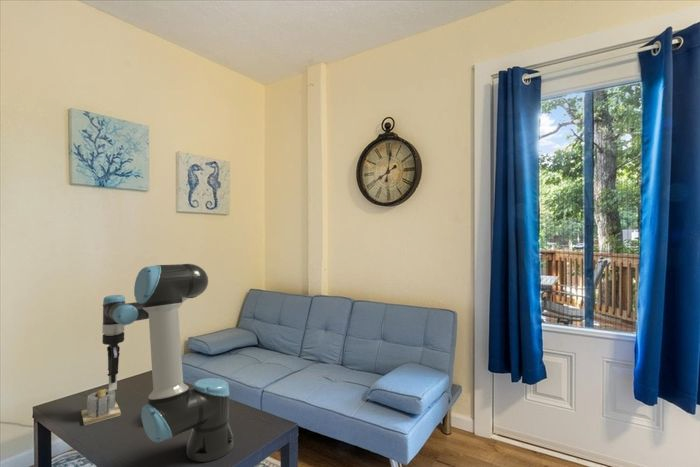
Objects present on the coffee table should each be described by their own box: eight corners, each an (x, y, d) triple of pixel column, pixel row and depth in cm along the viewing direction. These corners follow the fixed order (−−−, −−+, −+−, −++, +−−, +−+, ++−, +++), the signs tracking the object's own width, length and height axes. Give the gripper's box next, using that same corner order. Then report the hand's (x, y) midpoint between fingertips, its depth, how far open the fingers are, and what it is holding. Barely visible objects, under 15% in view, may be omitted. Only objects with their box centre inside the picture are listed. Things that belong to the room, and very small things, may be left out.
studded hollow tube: (116, 412, 142) (116, 395, 142) (88, 419, 136) (88, 401, 136) (112, 404, 149) (113, 387, 149) (86, 410, 143) (86, 393, 143)
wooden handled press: (120, 415, 142) (121, 390, 142) (84, 425, 134) (84, 399, 134) (116, 404, 151) (116, 380, 151) (81, 413, 143) (81, 388, 143)
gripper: (127, 334, 143) (125, 392, 143) (121, 328, 153) (120, 381, 153) (104, 338, 138) (103, 397, 138) (100, 330, 148) (99, 386, 148)
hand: (112, 389), depth 145 cm, fingers closed
